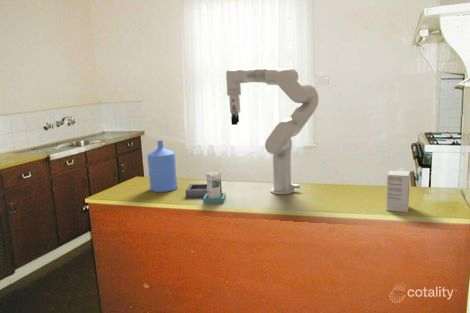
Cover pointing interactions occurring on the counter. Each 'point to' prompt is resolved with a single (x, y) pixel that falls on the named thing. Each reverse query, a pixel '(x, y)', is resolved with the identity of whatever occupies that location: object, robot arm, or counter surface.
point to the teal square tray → (214, 199)
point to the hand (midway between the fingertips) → (235, 123)
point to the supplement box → (398, 191)
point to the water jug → (162, 169)
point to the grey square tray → (196, 190)
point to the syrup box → (214, 185)
